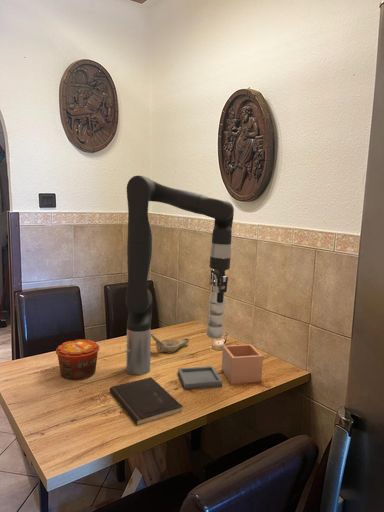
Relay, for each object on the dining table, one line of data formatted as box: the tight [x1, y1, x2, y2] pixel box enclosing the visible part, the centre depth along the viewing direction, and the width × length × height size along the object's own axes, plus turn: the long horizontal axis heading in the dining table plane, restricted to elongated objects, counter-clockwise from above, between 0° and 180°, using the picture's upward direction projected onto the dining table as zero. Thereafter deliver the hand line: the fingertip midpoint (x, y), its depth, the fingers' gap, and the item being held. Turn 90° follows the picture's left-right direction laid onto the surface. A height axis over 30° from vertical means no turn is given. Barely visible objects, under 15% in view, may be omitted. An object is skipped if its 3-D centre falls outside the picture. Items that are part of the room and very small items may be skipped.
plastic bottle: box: [206, 285, 226, 340], centre depth 140 cm, size 6×7×20 cm
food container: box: [55, 339, 100, 381], centre depth 144 cm, size 16×16×11 cm
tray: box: [177, 365, 223, 390], centre depth 142 cm, size 14×13×2 cm
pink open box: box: [221, 343, 264, 385], centre depth 146 cm, size 12×12×10 cm
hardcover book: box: [109, 376, 184, 426], centre depth 125 cm, size 16×23×2 cm
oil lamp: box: [151, 333, 190, 353], centre depth 169 cm, size 9×21×10 cm, turn 130°
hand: (217, 300), depth 139 cm, fingers closed on plastic bottle, 6 cm apart
